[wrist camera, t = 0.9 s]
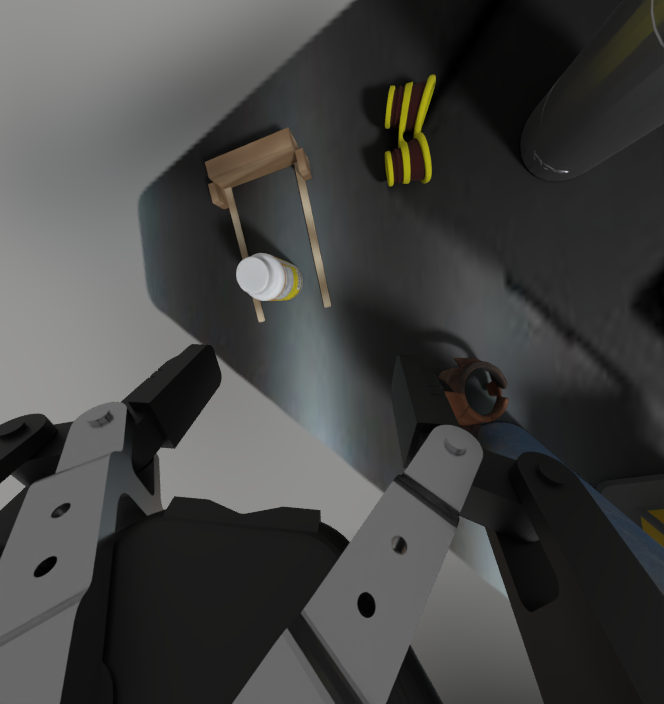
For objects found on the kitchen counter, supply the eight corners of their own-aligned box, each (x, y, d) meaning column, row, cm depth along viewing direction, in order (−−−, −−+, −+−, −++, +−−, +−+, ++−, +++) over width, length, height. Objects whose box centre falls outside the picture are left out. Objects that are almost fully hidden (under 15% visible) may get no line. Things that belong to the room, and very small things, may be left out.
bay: (337, 304, 36) (333, 305, 32) (254, 323, 39) (242, 325, 36) (304, 142, 32) (295, 124, 29) (215, 177, 35) (198, 164, 32)
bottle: (466, 416, 35) (869, 929, 6) (543, 425, 34) (1572, 1184, 5) (456, 473, 37) (731, 1066, 8) (528, 485, 36) (1189, 1280, 7)
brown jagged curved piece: (408, 363, 36) (446, 359, 28) (461, 356, 38) (510, 350, 30) (421, 445, 35) (464, 465, 27) (474, 434, 37) (529, 449, 29)
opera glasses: (385, 107, 30) (385, 70, 25) (430, 99, 29) (440, 58, 24) (384, 194, 32) (384, 176, 27) (426, 189, 31) (435, 169, 26)
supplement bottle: (262, 279, 37) (219, 272, 27) (287, 254, 36) (252, 236, 26) (285, 308, 37) (251, 310, 28) (311, 284, 36) (285, 277, 26)
